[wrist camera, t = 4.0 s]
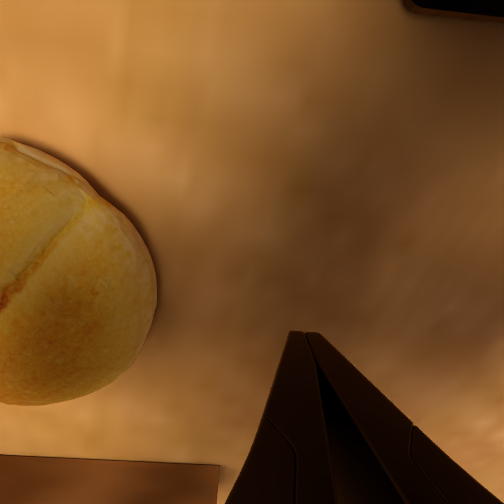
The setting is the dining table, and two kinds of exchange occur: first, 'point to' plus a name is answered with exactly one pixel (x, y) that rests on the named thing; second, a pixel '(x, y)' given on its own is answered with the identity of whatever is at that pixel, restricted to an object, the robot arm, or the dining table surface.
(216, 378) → the dining table surface
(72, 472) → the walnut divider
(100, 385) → the bread roll
